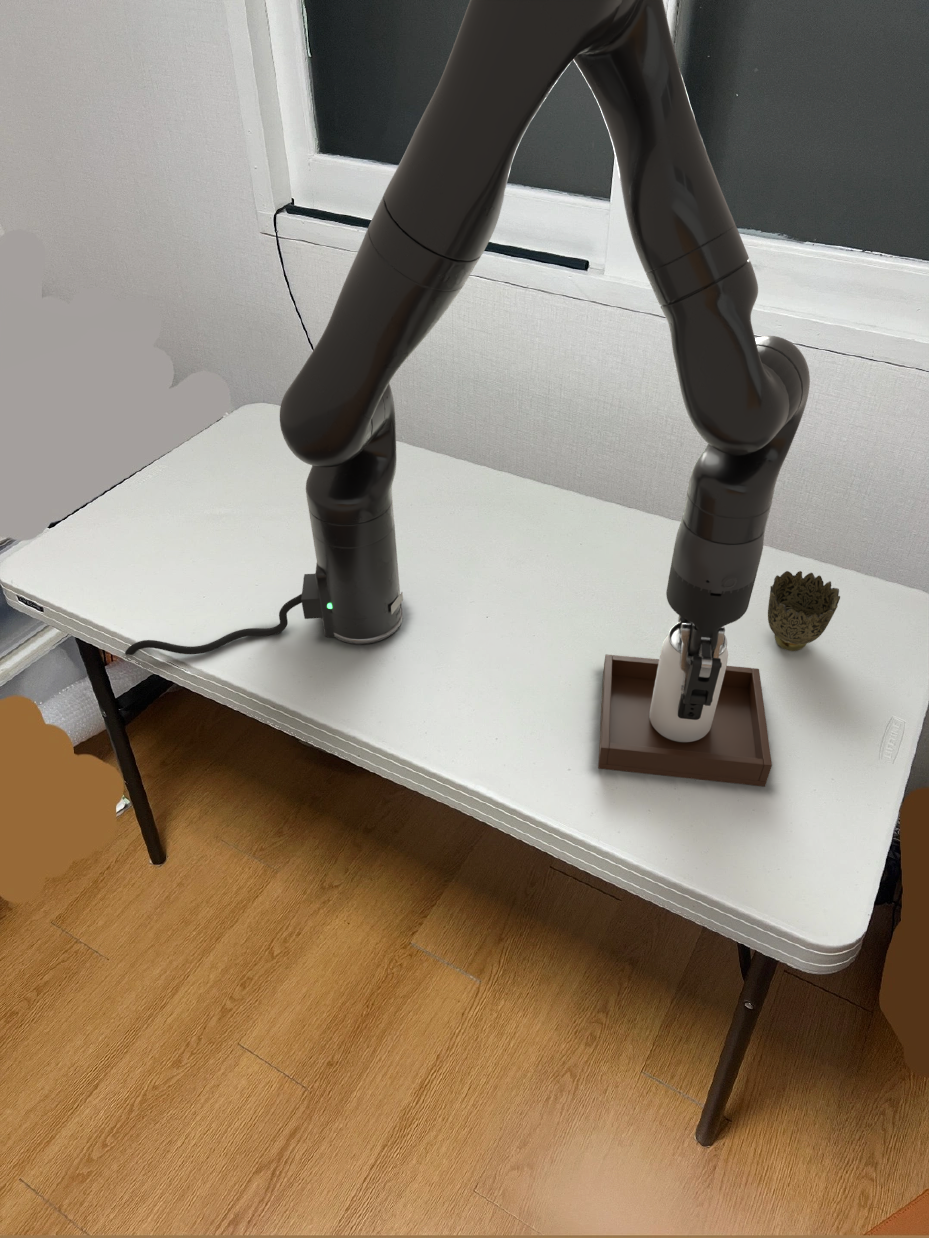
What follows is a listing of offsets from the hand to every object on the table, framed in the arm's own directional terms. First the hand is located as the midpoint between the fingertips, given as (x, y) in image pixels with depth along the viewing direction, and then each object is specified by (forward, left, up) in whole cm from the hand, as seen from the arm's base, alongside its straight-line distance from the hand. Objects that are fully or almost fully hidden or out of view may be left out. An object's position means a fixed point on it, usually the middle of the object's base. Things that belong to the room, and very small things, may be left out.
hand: (687, 689), depth 91 cm
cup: (+16, +12, -6) cm, 21 cm away
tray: (0, 0, -6) cm, 6 cm away
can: (0, 0, -5) cm, 5 cm away
